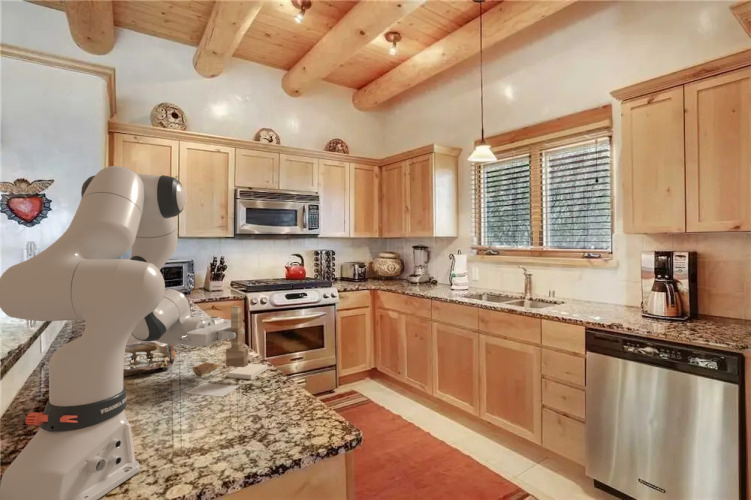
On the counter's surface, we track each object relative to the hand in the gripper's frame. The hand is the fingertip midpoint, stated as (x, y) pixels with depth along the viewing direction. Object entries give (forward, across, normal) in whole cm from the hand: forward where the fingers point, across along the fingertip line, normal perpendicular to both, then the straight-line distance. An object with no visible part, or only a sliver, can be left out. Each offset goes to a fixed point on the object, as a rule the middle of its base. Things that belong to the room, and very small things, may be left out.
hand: (239, 333), depth 120 cm
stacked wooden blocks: (-1, 0, +10) cm, 10 cm away
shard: (-16, +7, +15) cm, 23 cm away
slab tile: (-1, +2, +14) cm, 14 cm away
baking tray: (-42, +6, +15) cm, 45 cm away
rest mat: (-3, -9, +14) cm, 17 cm away
